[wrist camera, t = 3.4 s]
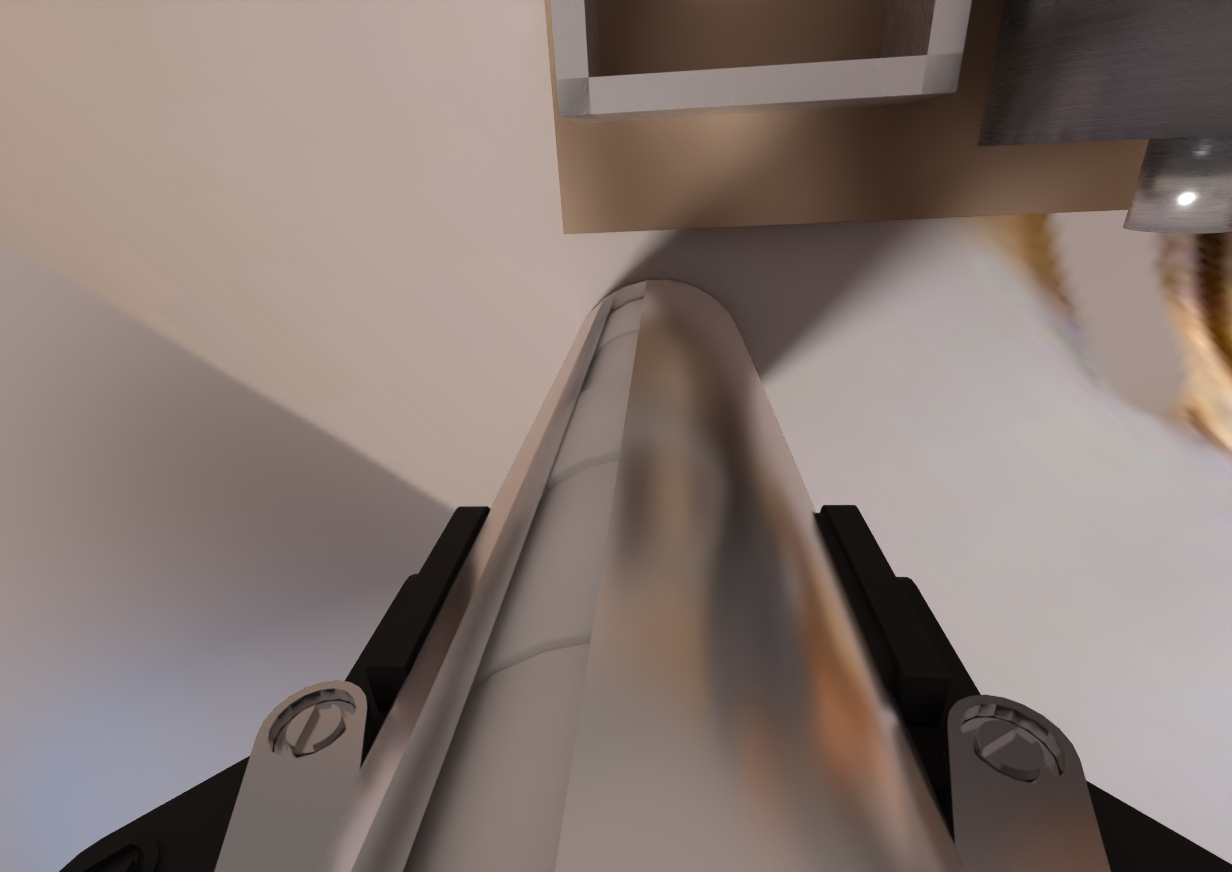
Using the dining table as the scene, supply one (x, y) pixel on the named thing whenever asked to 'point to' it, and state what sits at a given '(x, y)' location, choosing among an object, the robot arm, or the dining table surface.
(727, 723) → the silver tall cylinder
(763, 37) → the motor mount
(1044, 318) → the dining table surface
